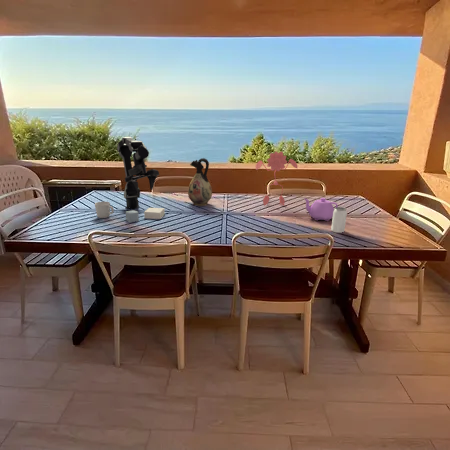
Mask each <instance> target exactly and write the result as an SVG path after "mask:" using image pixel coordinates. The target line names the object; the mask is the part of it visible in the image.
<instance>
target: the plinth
mask: <svg viewBox="0 0 450 450" xmlns="http://www.w3.org/2000/svg"><path fill="white" fill-rule="evenodd" d="M143 213H144V214H143V215H144V219H153V220H161V219H162V218H163V217H164V216H165V208H164V207H161V208H160V207H148V208H147V209H146V210H145V211H144V212H143Z"/></svg>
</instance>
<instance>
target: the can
mask: <svg viewBox="0 0 450 450" xmlns="http://www.w3.org/2000/svg"><path fill="white" fill-rule="evenodd" d="M347 213H348V212H347V208H344V207H341V206H340V207H339V206H338V207H336V206H335V207H334V211H333V217H332V218H331V219H332V221H331V228H330V229H331V232H333V233H336V234H343V233H344V232H345V229H346V222H347ZM342 232H343V233H342Z"/></svg>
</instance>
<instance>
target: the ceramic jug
mask: <svg viewBox="0 0 450 450" xmlns="http://www.w3.org/2000/svg"><path fill="white" fill-rule="evenodd" d="M203 162H204V163H205V167H204V165H203ZM189 165H190V166H191V167H192V168H193V167H194V168H195V170H196V171H195V172H196V173H195V175H194V176H192V179H191V181H190V183H189V186H188V189H187V194H188V199H189V200H190V201H191V202H192V206H196V207H201V206H203V207H204V206H208V203H209V201H211V199H212V196H213V189H212V186H211V183H210V182H209V179H208V175H207V174H208V170H209V166H210V162H209V161H208V159H207V158H204V157H203V158H200V159H195V160H193V161H191V163H190V164H189ZM204 168H205V169H204ZM203 170H204V172H203Z"/></svg>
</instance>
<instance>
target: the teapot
mask: <svg viewBox="0 0 450 450" xmlns="http://www.w3.org/2000/svg"><path fill="white" fill-rule="evenodd" d="M303 199H304V200H305V210H306V211H307V213H308V214H309V215H310V217H311V218H313V219H314V221H315V220H317V221H316V222H319V221H318V220H321V221H325V222H330V220H331V219H333V211H334V209H335V208H336V207H339V204H338V203H336V202H335V201H330V200H329V199H328V200H327V198H325V197H320V199H316V200H314V202H313V203H311V205H310V202H309V199H307V198H305V197H304V198H303ZM333 205H335V207H334V206H333Z"/></svg>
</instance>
